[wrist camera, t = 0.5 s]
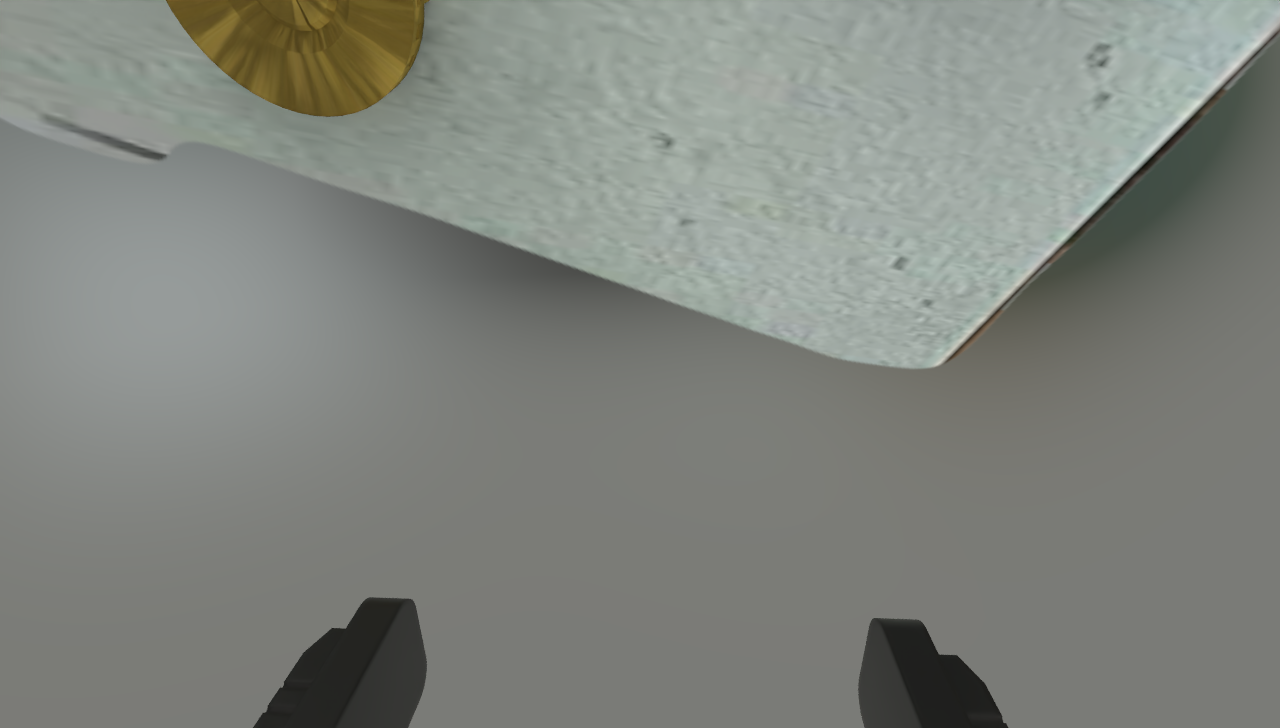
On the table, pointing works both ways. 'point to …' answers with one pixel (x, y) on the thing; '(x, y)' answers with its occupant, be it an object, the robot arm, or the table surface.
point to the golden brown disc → (309, 48)
